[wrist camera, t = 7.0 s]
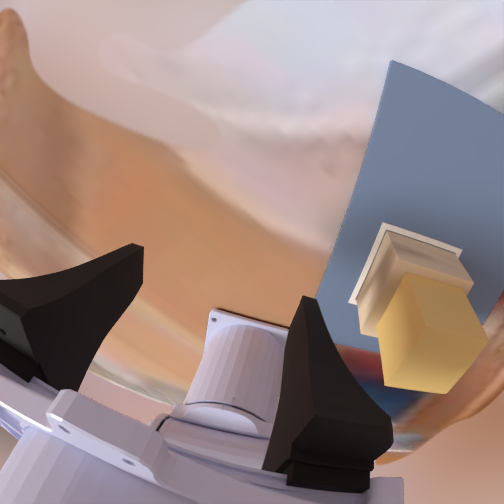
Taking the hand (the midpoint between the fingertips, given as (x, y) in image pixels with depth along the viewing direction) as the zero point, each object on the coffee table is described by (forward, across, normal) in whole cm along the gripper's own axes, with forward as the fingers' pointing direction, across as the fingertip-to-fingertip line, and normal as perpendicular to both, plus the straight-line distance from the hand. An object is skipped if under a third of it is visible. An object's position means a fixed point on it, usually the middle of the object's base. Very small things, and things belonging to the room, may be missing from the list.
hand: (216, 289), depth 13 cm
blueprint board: (+10, -14, -2) cm, 17 cm away
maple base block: (+9, -12, +2) cm, 15 cm away
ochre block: (+5, -12, +1) cm, 13 cm away
